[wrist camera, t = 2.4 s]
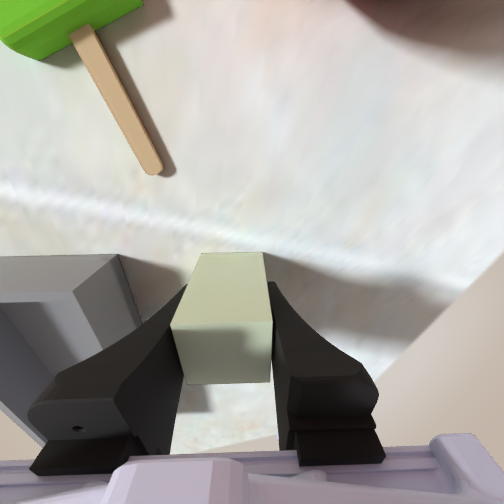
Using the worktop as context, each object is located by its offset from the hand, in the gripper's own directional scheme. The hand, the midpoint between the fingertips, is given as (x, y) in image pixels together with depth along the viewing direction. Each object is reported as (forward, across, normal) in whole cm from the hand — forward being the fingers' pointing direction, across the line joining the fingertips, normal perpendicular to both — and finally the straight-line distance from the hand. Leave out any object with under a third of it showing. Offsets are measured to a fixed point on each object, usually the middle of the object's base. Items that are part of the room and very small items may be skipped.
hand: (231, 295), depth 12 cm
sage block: (+2, 0, 0) cm, 2 cm away
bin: (+2, +12, +7) cm, 14 cm away
